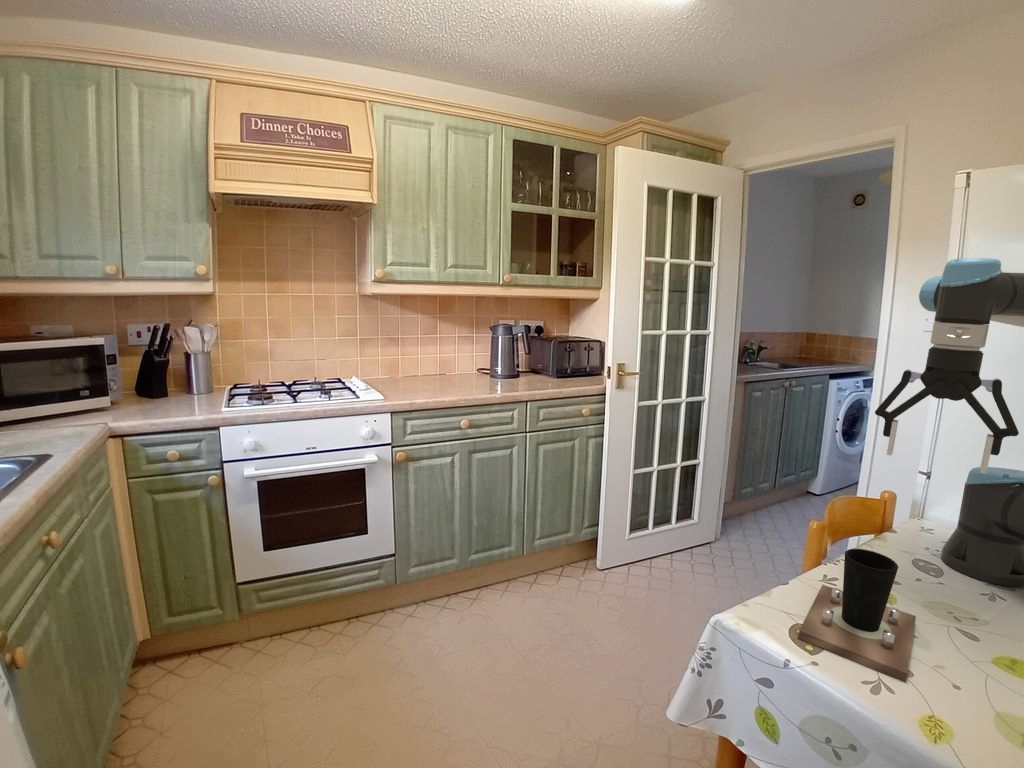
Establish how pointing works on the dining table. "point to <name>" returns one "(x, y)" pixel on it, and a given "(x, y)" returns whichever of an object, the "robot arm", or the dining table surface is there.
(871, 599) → the cup
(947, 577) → the dining table surface
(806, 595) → the dining table surface
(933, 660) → the dining table surface
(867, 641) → the stub board
